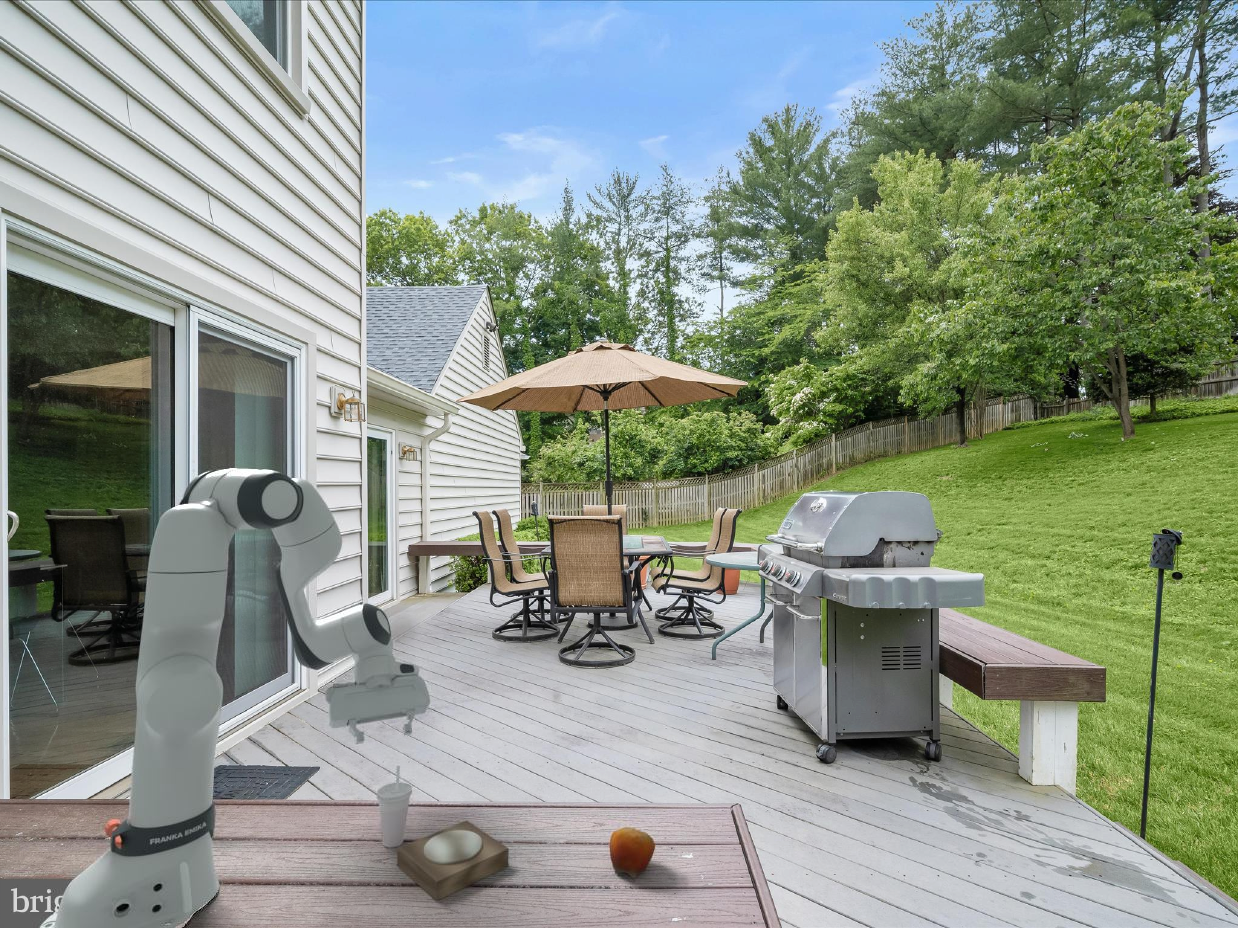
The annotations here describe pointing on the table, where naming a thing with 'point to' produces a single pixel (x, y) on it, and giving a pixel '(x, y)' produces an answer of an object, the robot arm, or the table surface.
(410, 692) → the robot arm
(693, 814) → the table surface
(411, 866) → the stand
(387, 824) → the smoothie
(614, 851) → the fruit
